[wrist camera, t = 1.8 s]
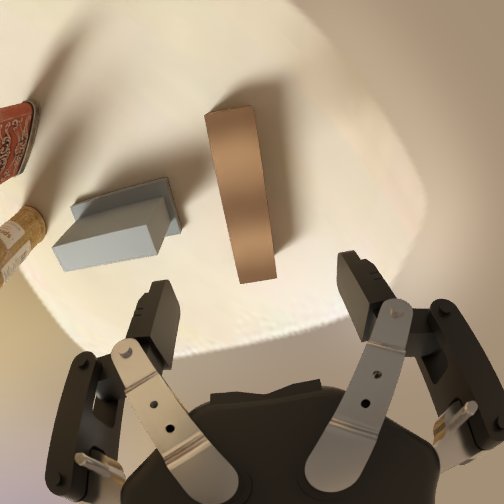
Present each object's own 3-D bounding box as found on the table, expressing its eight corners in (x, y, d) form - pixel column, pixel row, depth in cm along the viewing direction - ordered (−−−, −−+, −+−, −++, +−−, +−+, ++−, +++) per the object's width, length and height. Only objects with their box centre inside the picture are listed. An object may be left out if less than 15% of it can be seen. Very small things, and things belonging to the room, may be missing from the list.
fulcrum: (74, 203, 21) (41, 234, 16) (167, 177, 21) (147, 205, 16) (92, 247, 24) (67, 284, 19) (182, 229, 24) (169, 268, 19)
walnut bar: (208, 112, 19) (204, 115, 16) (249, 105, 19) (252, 106, 16) (238, 260, 26) (240, 284, 23) (271, 255, 26) (276, 278, 23)
